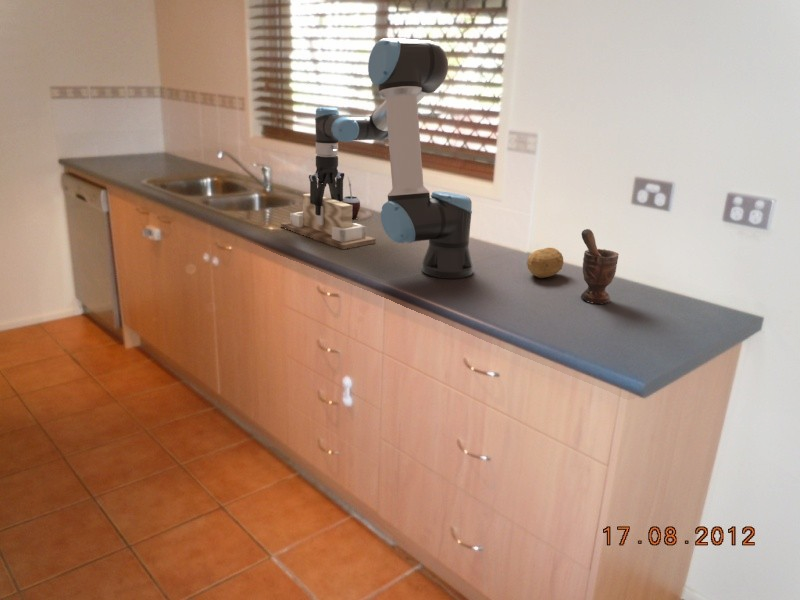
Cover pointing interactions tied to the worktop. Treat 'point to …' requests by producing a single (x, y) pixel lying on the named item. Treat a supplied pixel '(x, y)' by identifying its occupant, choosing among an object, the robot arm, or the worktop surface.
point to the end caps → (334, 229)
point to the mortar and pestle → (597, 269)
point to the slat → (327, 214)
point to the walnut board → (328, 237)
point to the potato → (545, 262)
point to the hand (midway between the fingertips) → (326, 223)
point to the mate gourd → (352, 202)
